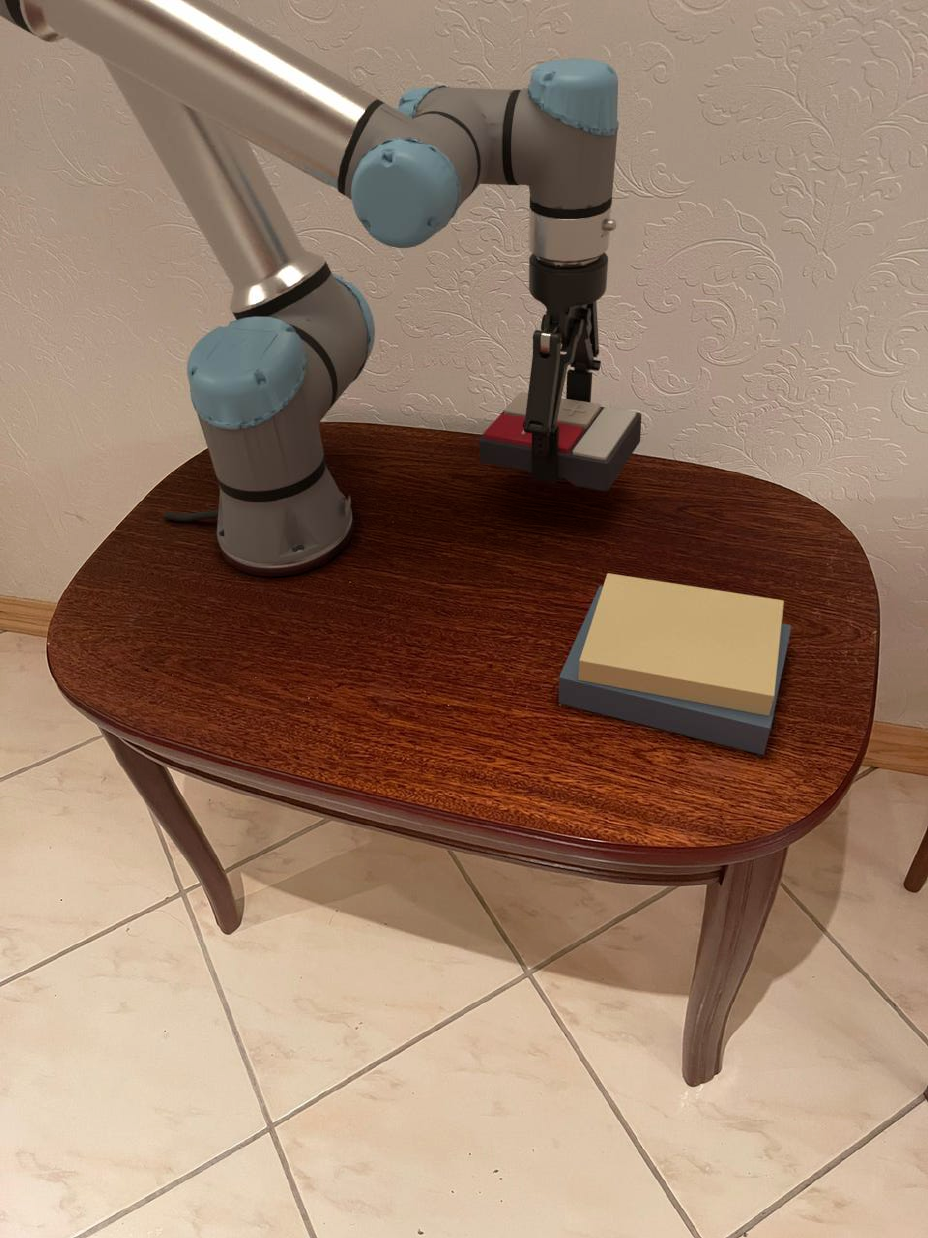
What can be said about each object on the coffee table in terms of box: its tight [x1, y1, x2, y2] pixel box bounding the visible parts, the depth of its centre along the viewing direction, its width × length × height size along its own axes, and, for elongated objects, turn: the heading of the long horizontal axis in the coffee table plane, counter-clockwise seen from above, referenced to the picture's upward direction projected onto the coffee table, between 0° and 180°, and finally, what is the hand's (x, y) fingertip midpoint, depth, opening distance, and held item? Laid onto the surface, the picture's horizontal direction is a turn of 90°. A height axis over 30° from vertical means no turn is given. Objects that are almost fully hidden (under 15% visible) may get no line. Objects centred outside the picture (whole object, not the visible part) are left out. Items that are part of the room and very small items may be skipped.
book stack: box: [558, 572, 792, 756], centre depth 80 cm, size 18×13×6 cm
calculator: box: [478, 391, 642, 492], centre depth 98 cm, size 11×4×15 cm
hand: (561, 450), depth 99 cm, fingers closed on calculator, 11 cm apart
